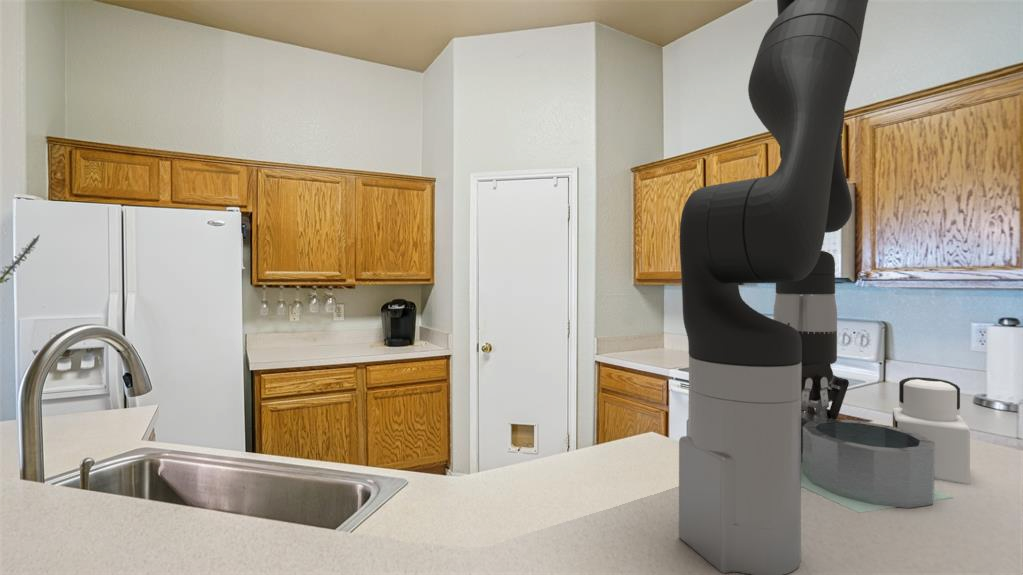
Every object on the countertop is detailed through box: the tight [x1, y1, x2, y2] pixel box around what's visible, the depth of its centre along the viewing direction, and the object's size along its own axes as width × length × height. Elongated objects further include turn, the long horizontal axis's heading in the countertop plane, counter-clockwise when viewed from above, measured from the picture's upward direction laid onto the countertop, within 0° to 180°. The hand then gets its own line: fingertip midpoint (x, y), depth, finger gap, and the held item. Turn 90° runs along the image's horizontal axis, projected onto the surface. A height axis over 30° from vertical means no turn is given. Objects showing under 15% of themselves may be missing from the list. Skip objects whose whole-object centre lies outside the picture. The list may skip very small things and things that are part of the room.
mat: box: [801, 462, 954, 514], centre depth 61 cm, size 14×17×1 cm
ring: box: [801, 411, 936, 509], centre depth 61 cm, size 12×18×6 cm
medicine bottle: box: [892, 376, 971, 485], centre depth 64 cm, size 7×7×12 cm
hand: (803, 450), depth 67 cm, fingers closed on ring, 3 cm apart
